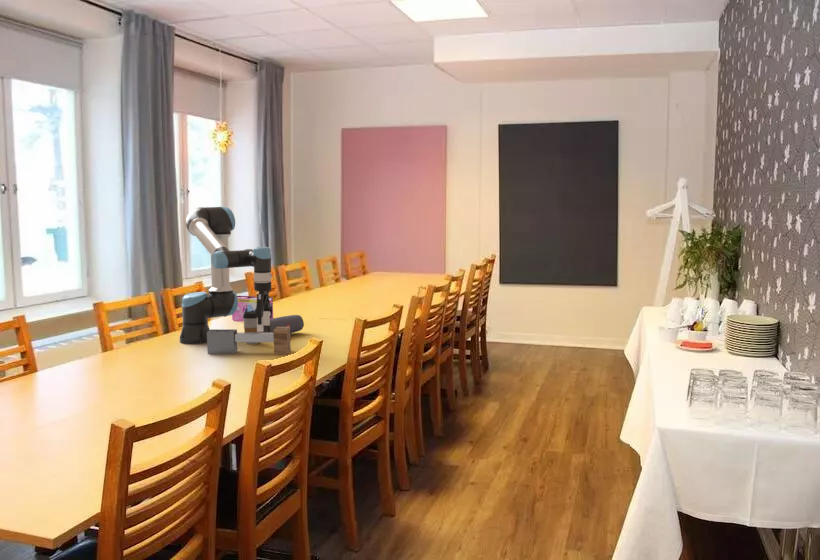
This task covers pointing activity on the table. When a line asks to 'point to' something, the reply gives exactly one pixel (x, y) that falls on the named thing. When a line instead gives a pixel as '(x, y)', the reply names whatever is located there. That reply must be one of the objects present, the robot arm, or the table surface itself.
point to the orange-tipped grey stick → (253, 337)
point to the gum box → (248, 307)
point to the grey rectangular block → (221, 342)
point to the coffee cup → (250, 323)
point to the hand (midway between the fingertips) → (263, 328)
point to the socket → (282, 340)
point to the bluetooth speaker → (285, 323)
